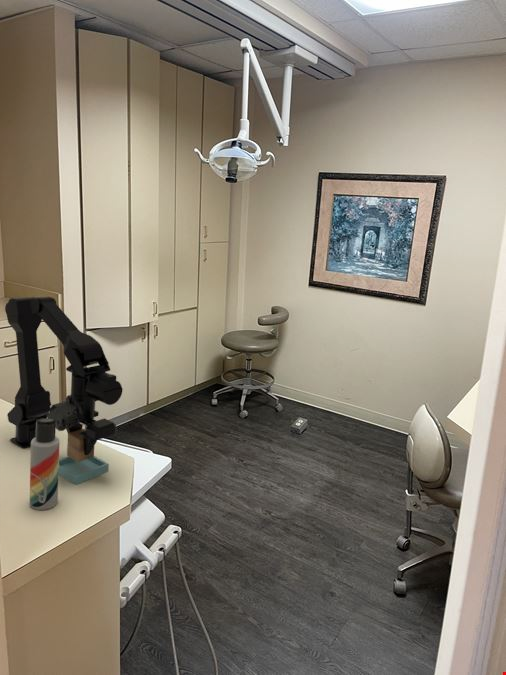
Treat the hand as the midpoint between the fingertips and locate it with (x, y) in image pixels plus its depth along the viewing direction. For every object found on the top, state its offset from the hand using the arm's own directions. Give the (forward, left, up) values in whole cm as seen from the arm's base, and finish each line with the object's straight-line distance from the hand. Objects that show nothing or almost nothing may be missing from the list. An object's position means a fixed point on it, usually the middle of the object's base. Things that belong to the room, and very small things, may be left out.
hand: (80, 451), depth 124 cm
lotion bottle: (+7, -14, -5) cm, 17 cm away
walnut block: (0, 0, -1) cm, 1 cm away
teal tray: (0, 0, -5) cm, 5 cm away
